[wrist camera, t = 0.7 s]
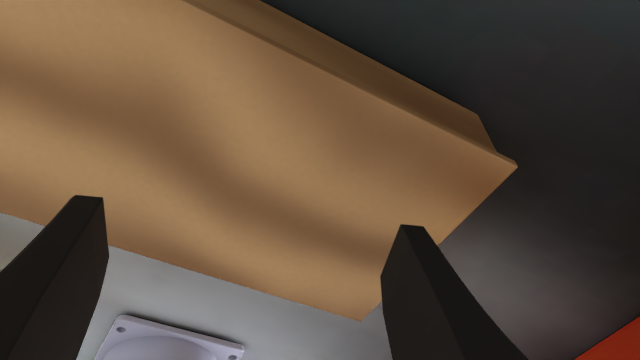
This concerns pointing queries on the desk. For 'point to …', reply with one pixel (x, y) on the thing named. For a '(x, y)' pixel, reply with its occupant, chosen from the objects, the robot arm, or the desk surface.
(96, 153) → the low cabinet
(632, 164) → the desk surface
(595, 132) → the desk surface
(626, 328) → the file binder
